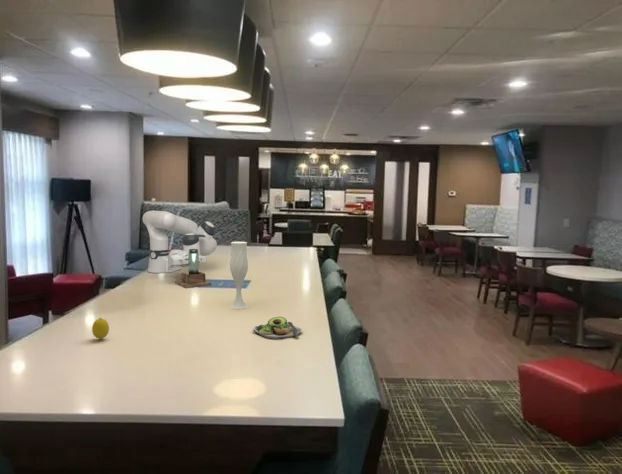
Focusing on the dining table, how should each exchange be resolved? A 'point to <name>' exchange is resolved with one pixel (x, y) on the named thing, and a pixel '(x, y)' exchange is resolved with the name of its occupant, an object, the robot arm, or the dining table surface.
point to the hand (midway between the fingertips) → (194, 262)
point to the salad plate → (277, 329)
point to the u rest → (193, 280)
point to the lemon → (100, 328)
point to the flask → (193, 261)
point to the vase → (238, 271)
